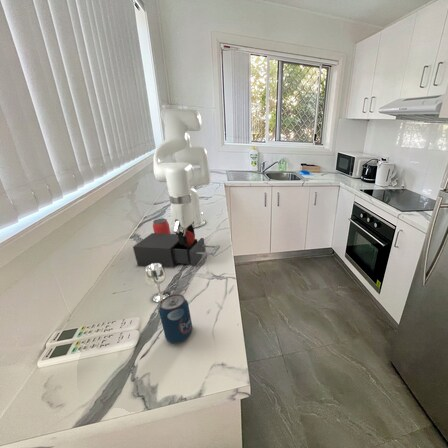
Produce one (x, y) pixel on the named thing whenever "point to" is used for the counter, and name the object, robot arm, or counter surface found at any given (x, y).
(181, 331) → the soda can
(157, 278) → the wineglass
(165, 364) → the counter surface
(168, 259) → the dark grey cabinet
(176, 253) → the drawer
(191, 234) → the onion
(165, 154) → the robot arm
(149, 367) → the counter surface
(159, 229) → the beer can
